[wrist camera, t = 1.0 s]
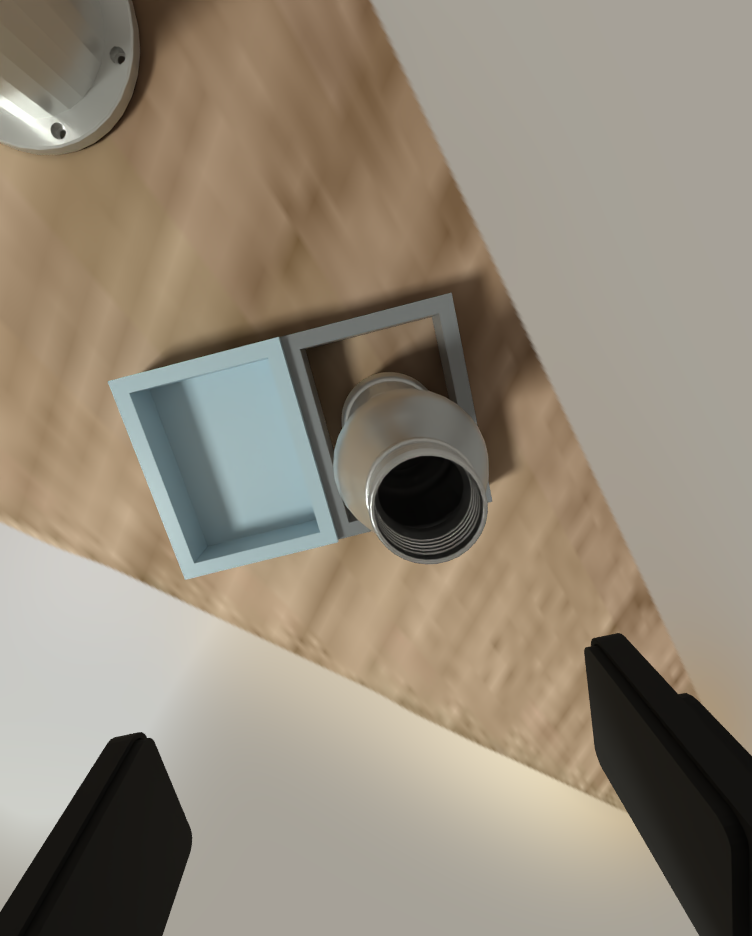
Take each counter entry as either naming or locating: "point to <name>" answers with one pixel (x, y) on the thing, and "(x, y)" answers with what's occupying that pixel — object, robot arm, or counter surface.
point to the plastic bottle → (412, 468)
